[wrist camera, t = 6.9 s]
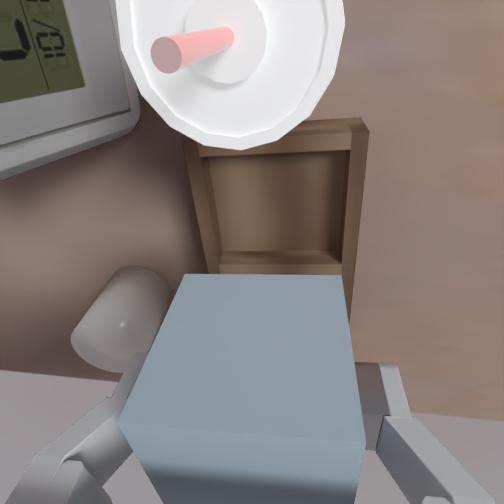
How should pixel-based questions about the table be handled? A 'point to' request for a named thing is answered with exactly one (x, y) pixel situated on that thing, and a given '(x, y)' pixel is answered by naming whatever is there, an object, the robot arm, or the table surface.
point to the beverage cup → (231, 63)
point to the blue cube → (250, 394)
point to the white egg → (122, 319)
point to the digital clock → (61, 81)
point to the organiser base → (283, 202)
